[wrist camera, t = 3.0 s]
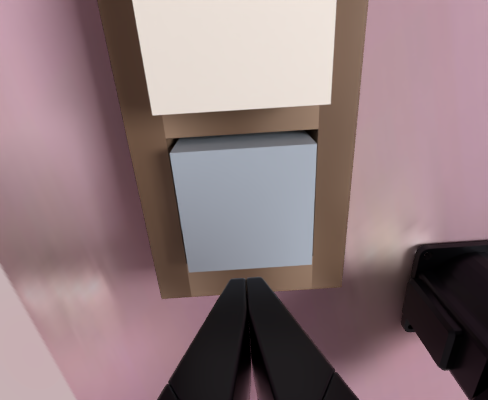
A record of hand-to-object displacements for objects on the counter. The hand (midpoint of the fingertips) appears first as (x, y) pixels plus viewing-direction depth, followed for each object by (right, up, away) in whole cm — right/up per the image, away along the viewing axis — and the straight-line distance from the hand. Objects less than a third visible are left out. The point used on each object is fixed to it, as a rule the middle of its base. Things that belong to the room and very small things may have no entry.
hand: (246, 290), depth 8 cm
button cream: (0, +9, +3) cm, 10 cm away
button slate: (0, +3, +7) cm, 8 cm away
